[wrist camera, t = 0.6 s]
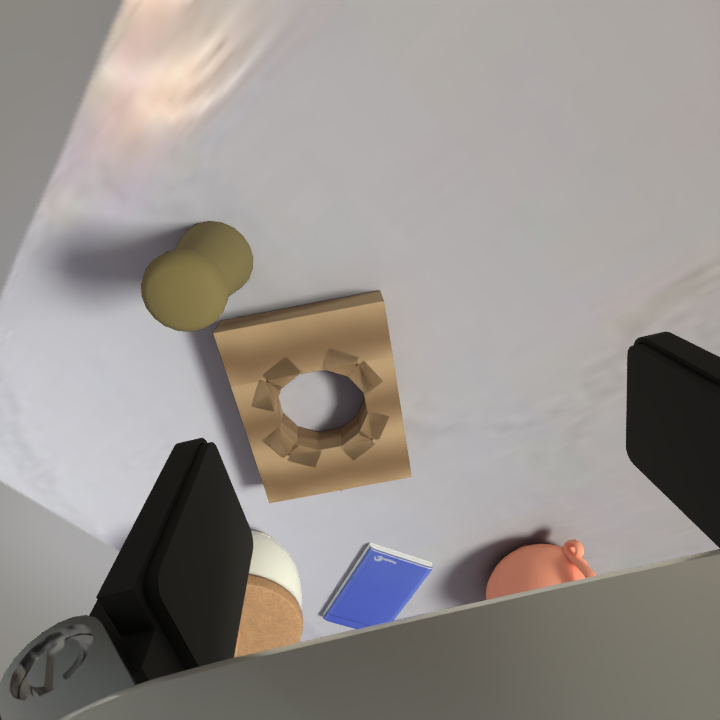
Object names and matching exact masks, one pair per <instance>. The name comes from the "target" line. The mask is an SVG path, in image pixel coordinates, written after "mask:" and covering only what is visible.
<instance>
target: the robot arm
mask: <svg viewBox="0 0 720 720" xmlns="http://www.w3.org/2000/svg"><path fill="white" fill-rule="evenodd" d="M626 450H627V454H628V456H629V458H630V460H631V462H632V463H633V464H634V465H635V466H636V467H637V468H638V469H639V470H640V471H641V472H642V473H643V474H644V475H645V476H646V477H647V478H648V479H649V480H650V481H651V482H652V483H653V484H654V485H655V486H657V487H658V488H659V489H660V490H661V491H662V492H663V493H664V494H665V495H666V496H667V497H668V498H669V499H670V500H671V501H672V502H673V503H674V504H675V505H676V506H677V507H678V508H679V509H680V510H681V511H682V512H683V513H684V514H685V515H686V516H687V517H688V518H689V519H690V520H691V521H692V522H693V523H695V524H696V525H697V526H698V527H699V528H700V529H701V530H702V531H703V532H704V533H705V534H706V535H707V536H708V537H709V538H710V539H711V540H712V541H713V542H714V543H715V544H716V545H717V546H718V547H719V548H720V357H718V356H716V355H714V354H712V353H710V352H708V351H706V350H704V349H702V348H700V347H698V346H696V345H694V344H692V343H690V342H688V341H686V340H684V339H682V338H680V337H678V336H676V335H674V334H672V333H669V332H661V333H657V334H653V335H648V336H644V337H640V338H638V339H636V341H635V343H634V346H631V347H630V348H629V350H628V356H627V417H626ZM252 553H253V536H252V532H251V530H250V527H249V525H248V522H247V520H246V517H245V515H244V513H243V510H242V508H241V505H240V503H239V500H238V498H237V495H236V493H235V491H234V488H233V486H232V483H231V481H230V478H229V476H228V473H227V471H226V469H225V466H224V464H223V461H222V459H221V456H220V454H219V451H218V449H217V447H216V445H215V444H214V443H213V442H210V443H207V441H206V440H205V439H203V438H199V439H195V440H190V441H186V442H182V443H178V444H176V445H175V446H174V448H173V450H172V452H171V454H170V456H169V458H168V460H167V462H166V463H165V465H164V467H163V469H162V471H161V473H160V475H159V477H158V479H157V481H156V483H155V485H154V487H153V489H152V491H151V492H150V494H149V496H148V498H147V500H146V502H145V504H144V506H143V508H142V510H141V512H140V514H139V516H138V518H137V520H136V521H135V523H134V525H133V527H132V529H131V531H130V533H129V535H128V537H127V539H126V541H125V543H124V545H123V547H122V549H121V550H120V552H119V554H118V556H117V558H116V560H115V562H114V564H113V566H112V568H111V570H110V572H109V574H108V576H107V578H106V579H105V581H104V583H103V585H102V587H101V589H100V591H99V593H98V595H97V599H98V600H97V602H96V604H95V606H94V608H93V610H92V612H91V613H90V615H89V616H87V615H83V616H76V617H72V618H69V619H67V620H64V621H62V622H59V623H57V624H55V625H54V626H52V627H50V628H49V629H47V630H45V631H44V632H42V633H41V634H40V635H39V636H37V637H36V638H35V639H34V640H32V641H31V642H30V643H29V644H27V646H26V647H25V648H24V649H23V650H22V651H21V652H20V653H19V654H18V655H17V656H16V657H15V658H14V660H13V661H12V663H11V664H10V665H9V667H8V668H7V670H6V671H5V673H4V675H3V678H2V680H1V682H0V720H720V549H718V550H713V551H709V552H704V553H699V554H695V555H690V556H686V557H681V558H676V559H672V560H667V561H662V562H658V563H653V564H648V565H644V566H639V567H634V568H630V569H625V570H620V571H616V572H611V573H607V574H602V575H597V576H593V577H588V578H584V579H579V580H575V581H570V582H566V583H561V584H556V585H552V586H547V587H543V588H538V589H534V590H529V591H525V592H520V593H516V594H511V595H507V596H502V597H498V598H493V599H489V600H484V601H480V602H475V603H471V604H466V605H462V606H457V607H453V608H448V609H444V610H439V611H435V612H430V613H426V614H421V615H417V616H413V617H408V618H404V619H399V620H395V621H391V622H386V623H382V624H377V625H373V626H369V627H364V628H360V629H355V630H351V631H347V632H342V633H338V634H333V635H329V636H325V637H320V638H316V639H311V640H307V641H303V642H298V643H294V644H289V645H285V646H281V647H277V648H273V649H268V650H264V651H260V652H256V653H251V654H247V655H243V656H239V657H235V658H234V654H235V649H236V643H237V638H238V632H239V626H240V621H241V615H242V609H243V604H244V598H245V592H246V587H247V581H248V576H249V570H250V564H251V559H252Z"/></svg>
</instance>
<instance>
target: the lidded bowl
mask: <svg viewBox="0 0 720 720" xmlns="http://www.w3.org/2000/svg"><path fill="white" fill-rule="evenodd" d="M251 532H252V536H253V553H252V559H251V564H250V570H249V576H248V581H247V587H246V592H245V598H244V604H243V609H242V615H241V621H240V626H239V632H238V638H237V643H236V649H235V654H234V658H235V657H239V656H243V655H247V654H251V653H256V652H260V651H264V650H268V649H273V648H277V647H281V646H285V645H289V644H294V643H298V642H299V641H300V638H301V635H302V628H303V616H302V592H301V583H300V578H299V573H298V570H297V568H296V565H295V563H294V561H293V559H292V558H291V556H290V555H289V553H288V552H287V551H286V550H285V549H284V547H282V546H281V545H280V544H279V543H277V542H276V541H275V540H274V539H273V538H272V537H270V536H269V535H267V534H265V533H262V532H259V531H254V530H251Z"/></svg>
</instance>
